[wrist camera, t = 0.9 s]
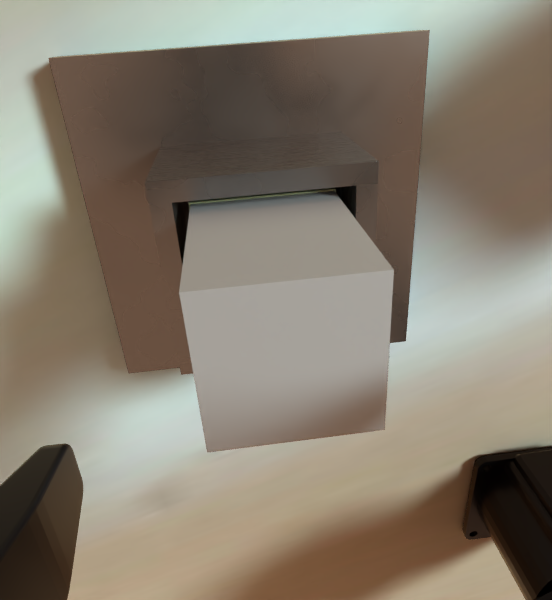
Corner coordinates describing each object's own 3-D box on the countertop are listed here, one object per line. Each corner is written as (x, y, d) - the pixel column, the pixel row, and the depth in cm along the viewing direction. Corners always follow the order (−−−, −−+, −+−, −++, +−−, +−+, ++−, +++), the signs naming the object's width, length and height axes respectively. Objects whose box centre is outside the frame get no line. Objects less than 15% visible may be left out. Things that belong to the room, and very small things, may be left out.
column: (318, 273, 20) (386, 430, 12) (208, 284, 19) (205, 454, 12) (315, 162, 17) (396, 267, 10) (192, 173, 17) (176, 290, 9)
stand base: (398, 329, 23) (455, 421, 17) (132, 359, 22) (106, 465, 17) (418, 30, 17) (512, 30, 12) (57, 56, 16) (-20, 69, 11)
